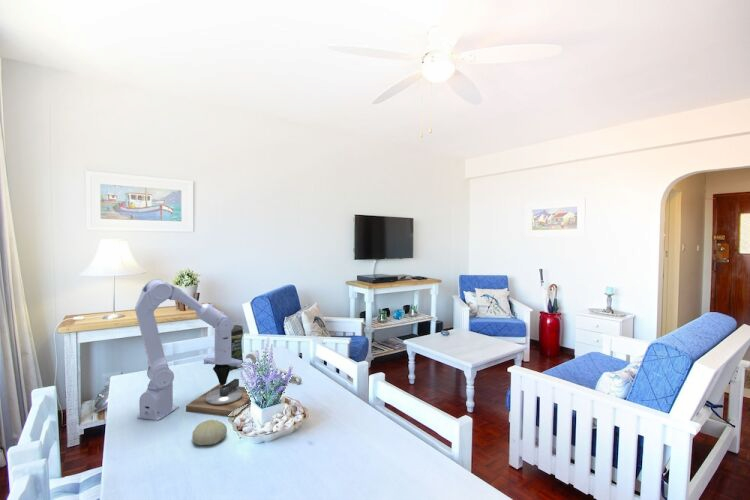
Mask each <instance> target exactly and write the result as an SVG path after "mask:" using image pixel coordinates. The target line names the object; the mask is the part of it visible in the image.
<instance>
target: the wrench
mask: <svg viewBox="0 0 750 500" xmlns="http://www.w3.org/2000/svg"><path fill="white" fill-rule="evenodd" d="M256 355H257V354H256V353H255V352H251V353H248V354H247V355H246V356H245V359H250V360H251V361H252V364H253V363H254V364H255V363H256ZM277 368H278V370H279V371H280V372H283V373H284V375H286V374H287V372H288V371H287V370H284V369H282V368H279V367H277ZM248 369H249V370H251V368H250V367H248ZM289 383H292V384H294V385H300V384H302V377H301V376H299V375H296V374H294V373H292V377H291V379H290V382H289Z"/></svg>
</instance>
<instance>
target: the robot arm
mask: <svg viewBox="0 0 750 500" xmlns="http://www.w3.org/2000/svg"><path fill="white" fill-rule="evenodd" d="M140 292H141V293H140V295H139V297H138V300H137V302H136V304H135V307H134V311H135V314H136V318H137V324H138V326H139V331H140V334H141V338H142V342H143V346H144V350H145V355H146V358H147V365H148V366H147V371H146V376H147V378H148V379H149V381H148V382H149V383H148V384H147V388H146V390H145V392H143V393H142V394H141V395H140V397H139V408H138V409H139V414H138V415H137V419H144V420H152V421H159V420H161V419H163V418H164V417H166V416H167V415H170V413H172V412H174V411H176V410H177V409H178V408H180V406H179V405H176V404H175V405H174V404H173V403H174V402H173V401H174V400H173V398H174V394H173V393H174V391H173V388H174V386H173V385H174V379H175V374H174V371H173V370H171V369H170V367H169V364H168V361H167V359H166V357H165V353H164V349H163V344H162V339H161V336H160V333H159V328H158V324H157V320H156V317H155V316H156V315H155V311H156V309H157V308H158V307H159V306H160V305H161V304H163V303H164V302H166V301H167V300H169V301H179V302H180V303H182V304H183V305H185V306H187V307H188V308H190V309H191V310H193V311H195V315H196V316H195V317H197V318H198V319H200V320H201V321H202V322H204V323H206V324H208V325H209V326H211V327H212V328H213V329H214V357H208V356H207V357H205V358H204V359H203V365H208V364H209V365H214V366H213V367H212V370H213V372H214V373H215V375H216V377H217V379H218V384H220V385H226V384H227V382H228V381H227V380H228V378H229V374H230V371H231V370H232V369H231V368H232V366H237V368H240V367H242V366H243V365H241V364H242V360H237V359H233V358H231V330H232V329H233V327H234V325H235V323H234V321H233V319H232V318H231V317H229V316H227V315H225V312H224V311H220V310H219V309H217V308H216V307H215V305H214V304H212V303H210V304H209V303H207V302H206V303H201V302H200V301H198V300H197V299H196V298H194V297H193V296H191V295H189V294H188V293H187V292H186V291H184V290H183V289H181V288H179V287H176V285H175V286H174V285H172V284H170V283H169V282H167V281H164V280H162V279H159V278H153V279H151V280H149V281H148V282H146V283H145V285H144V286H142V289H141V291H140Z"/></svg>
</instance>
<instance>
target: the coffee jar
mask: <svg viewBox="0 0 750 500" xmlns="http://www.w3.org/2000/svg"><path fill="white" fill-rule="evenodd" d="M243 337H244V328H243V326H242V325H239V324H234V327H233V329H232V330H231V358H233V359H237V360H242V363H243V364H244V358H243V357H244V355H243V346H242V344H243V341H242V339H243ZM237 368H238V367H237V366H232V368H231V370H233V369H237Z"/></svg>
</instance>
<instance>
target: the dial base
mask: <svg viewBox="0 0 750 500" xmlns="http://www.w3.org/2000/svg"><path fill="white" fill-rule="evenodd" d="M225 385H226V384H225ZM225 385H220V384H219V383H218V384H217V385H215V386H214V387H212V388H211V389H208V390H207V391H206V392H204V393H203V394H202V395H200V396H198V397H197V398H196V399H194V400H192V401H191V402H189V403H187V404H185V412H187V413H188V412H189V413H195V414H196V413H197V414H206V415H213V416H221V417H229V416H228V415H229V414H230V413H231V412H232V411H234V410H235V409H237V408H240V407H242V406H244V405H246V404H249V403H250V402H251V400H250V397H249V395H248V394H247V391H246V389H245V386H240V385H239V386H238V387H236V388H238V389H240V390H242V397H241V398H240V399H239V400H238V401H236V402H233V403H230V404H225V405H211V404H208V403H207V402H206V395H207V394H208V393H210V392H212V391H214V390H217V389H220V387H222V386H225Z"/></svg>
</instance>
